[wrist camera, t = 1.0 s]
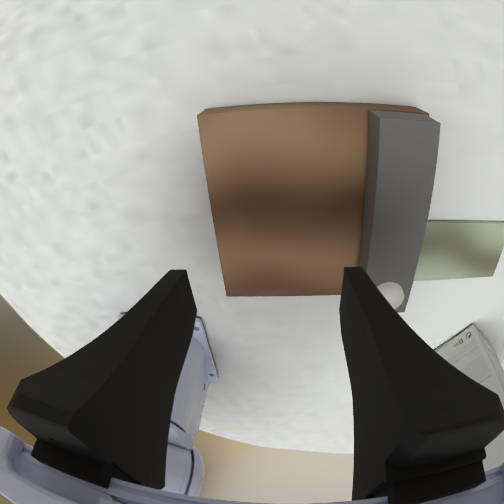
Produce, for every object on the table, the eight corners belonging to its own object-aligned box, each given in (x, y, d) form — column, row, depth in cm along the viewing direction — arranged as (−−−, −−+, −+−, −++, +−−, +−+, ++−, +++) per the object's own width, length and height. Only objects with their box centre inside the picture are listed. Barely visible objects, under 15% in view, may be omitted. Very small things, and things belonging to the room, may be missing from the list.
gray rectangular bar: (396, 290, 20) (405, 316, 18) (354, 292, 20) (360, 319, 18) (423, 114, 13) (444, 125, 11) (368, 110, 14) (382, 119, 12)
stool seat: (491, 273, 21) (501, 289, 19) (231, 283, 24) (227, 301, 22) (528, 127, 14) (545, 136, 12) (205, 109, 17) (196, 115, 15)
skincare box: (426, 353, 27) (458, 492, 15) (476, 318, 24) (527, 458, 12) (455, 377, 30) (483, 490, 17) (497, 349, 27) (536, 462, 14)
